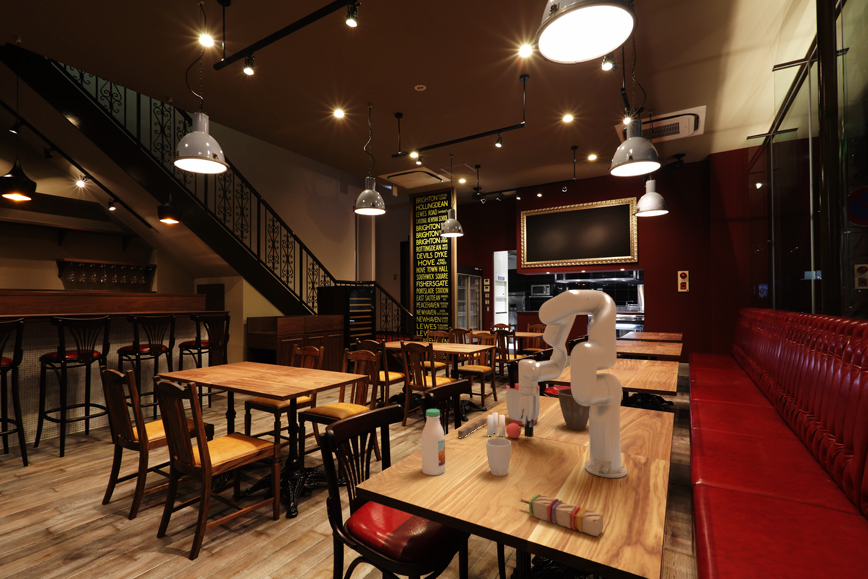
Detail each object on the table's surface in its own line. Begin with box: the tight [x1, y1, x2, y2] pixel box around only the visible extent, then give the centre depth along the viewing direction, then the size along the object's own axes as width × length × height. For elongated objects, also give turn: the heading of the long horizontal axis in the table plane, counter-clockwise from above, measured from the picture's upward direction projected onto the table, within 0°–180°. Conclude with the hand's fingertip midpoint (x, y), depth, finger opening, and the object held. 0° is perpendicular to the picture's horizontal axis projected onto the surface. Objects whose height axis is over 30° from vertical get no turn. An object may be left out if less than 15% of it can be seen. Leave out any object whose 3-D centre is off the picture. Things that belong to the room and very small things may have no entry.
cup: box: [485, 437, 512, 477], centre depth 133 cm, size 8×8×10 cm
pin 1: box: [486, 414, 494, 437], centre depth 171 cm, size 2×2×8 cm
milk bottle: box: [421, 408, 446, 476], centre depth 135 cm, size 8×8×20 cm
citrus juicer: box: [505, 382, 541, 426], centre depth 192 cm, size 16×17×20 cm
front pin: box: [498, 414, 506, 437], centre depth 171 cm, size 2×2×8 cm
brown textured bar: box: [457, 417, 487, 439], centre depth 178 cm, size 24×2×3 cm, turn 147°
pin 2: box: [491, 411, 499, 434], centre depth 176 cm, size 2×2×8 cm
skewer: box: [520, 494, 604, 537], centre depth 103 cm, size 21×6×5 cm, turn 50°
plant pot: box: [557, 388, 590, 432], centre depth 181 cm, size 15×15×16 cm
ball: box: [505, 422, 522, 439], centre depth 168 cm, size 6×6×6 cm
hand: (529, 436), depth 165 cm, fingers closed
